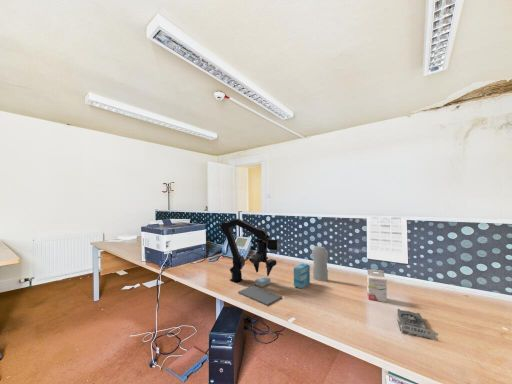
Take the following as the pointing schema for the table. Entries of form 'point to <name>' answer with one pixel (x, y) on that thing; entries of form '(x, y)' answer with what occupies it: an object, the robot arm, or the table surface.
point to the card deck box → (262, 281)
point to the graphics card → (414, 325)
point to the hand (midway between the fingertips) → (262, 274)
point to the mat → (260, 295)
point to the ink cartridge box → (376, 286)
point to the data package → (301, 275)
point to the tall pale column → (320, 263)
